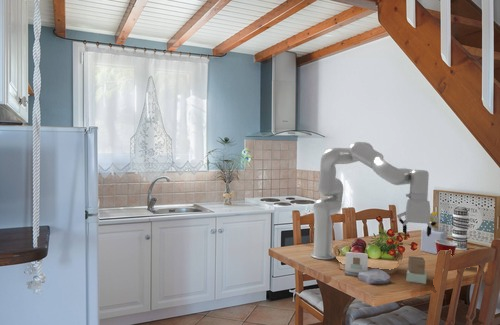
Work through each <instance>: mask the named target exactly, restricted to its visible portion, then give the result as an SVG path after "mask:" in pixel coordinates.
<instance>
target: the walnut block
mask: <svg viewBox="0 0 500 325" xmlns="http://www.w3.org/2000/svg"><path fill="white" fill-rule="evenodd" d="M407 262H408V263H407V264H408V266H407V267H408V268H407V270H409V272H410V273H416V274H425V271H426V268H425V267H426V260H425V259H424V257H422V256H412V255H411V256H410V255H408V261H407Z"/></svg>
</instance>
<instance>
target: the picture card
mask: <svg viewBox="0 0 500 325" xmlns="http://www.w3.org/2000/svg"><path fill="white" fill-rule="evenodd" d="M368 257H369V254H368V253H363V252H351V251H346V252H345V259H344V260H345V261H344V262H345V263H344V264H345V265H344V276H351V277H358V276H359V273H360V272H367V271H368V265H369V264H368V263H369V260H368V259H369V258H368Z"/></svg>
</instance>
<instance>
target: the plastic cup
mask: <svg viewBox="0 0 500 325" xmlns="http://www.w3.org/2000/svg"><path fill="white" fill-rule="evenodd" d="M435 243H436V249H437V254H438V252H439V251H440V250H449V249H451V250H452V254H451V255H452V256H453V255H455V251H456V250H457V249H456V246H457V245H458V244H457V243H455V242H452V240H440V239H437V240H435ZM453 257H454V256H453Z"/></svg>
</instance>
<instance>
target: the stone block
mask: <svg viewBox="0 0 500 325" xmlns="http://www.w3.org/2000/svg"><path fill="white" fill-rule="evenodd" d="M357 277H358V280H359V281H361V282H364V283H366V284H368V285H378V284H379V285H380V284H381V285H382V284H388V283H390V281H391V276H390V275H389V274H388V273H387V272H385V271H384V270H382V269H378V268H372V269H367V272H360V273H359V276H357Z"/></svg>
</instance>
